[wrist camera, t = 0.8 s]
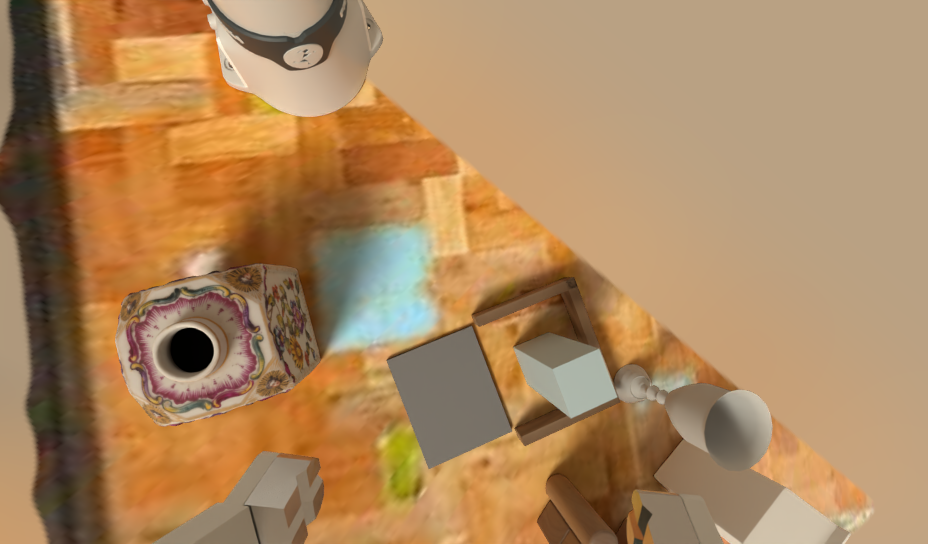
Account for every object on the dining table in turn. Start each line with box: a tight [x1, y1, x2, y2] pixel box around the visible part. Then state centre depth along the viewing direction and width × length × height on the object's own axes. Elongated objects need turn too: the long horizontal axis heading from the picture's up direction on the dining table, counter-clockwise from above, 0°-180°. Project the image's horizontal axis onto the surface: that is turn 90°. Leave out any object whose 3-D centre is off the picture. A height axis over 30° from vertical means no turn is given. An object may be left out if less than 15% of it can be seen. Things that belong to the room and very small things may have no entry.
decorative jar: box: [115, 263, 321, 427], centre depth 41 cm, size 12×12×18 cm
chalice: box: [614, 364, 772, 471], centre depth 47 cm, size 7×7×18 cm
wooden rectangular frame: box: [472, 277, 620, 446], centre depth 53 cm, size 16×13×3 cm
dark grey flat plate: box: [387, 326, 512, 469], centre depth 53 cm, size 14×11×1 cm
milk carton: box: [654, 439, 851, 544], centre depth 48 cm, size 7×7×19 cm
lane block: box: [513, 332, 617, 418], centre depth 48 cm, size 5×5×14 cm
